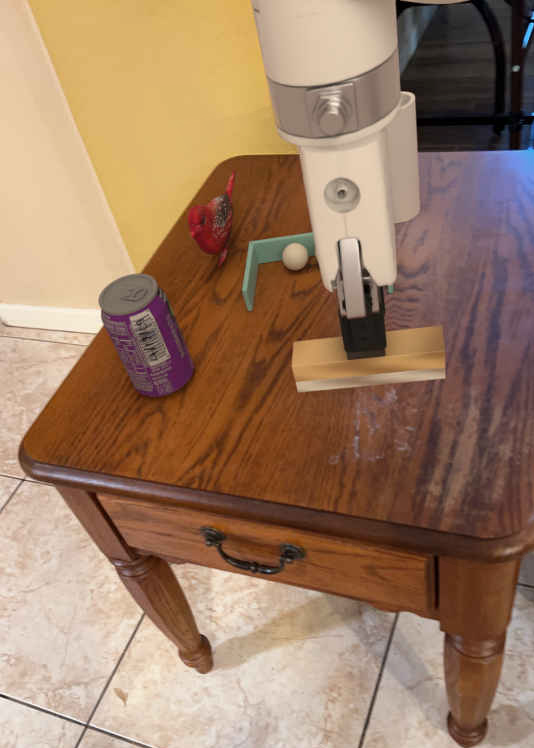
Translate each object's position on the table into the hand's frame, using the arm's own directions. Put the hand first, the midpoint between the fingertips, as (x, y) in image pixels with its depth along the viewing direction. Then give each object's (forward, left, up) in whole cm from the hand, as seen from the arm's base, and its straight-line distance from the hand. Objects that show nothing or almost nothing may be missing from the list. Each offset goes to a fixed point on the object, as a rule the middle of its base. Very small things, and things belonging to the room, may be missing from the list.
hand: (365, 330), depth 55 cm
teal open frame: (+6, -31, -15) cm, 35 cm away
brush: (0, 0, -5) cm, 5 cm away
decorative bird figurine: (+19, -37, -15) cm, 44 cm away
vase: (0, -39, -15) cm, 42 cm away
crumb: (+9, -31, -13) cm, 35 cm away
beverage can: (+24, -13, -15) cm, 31 cm away
